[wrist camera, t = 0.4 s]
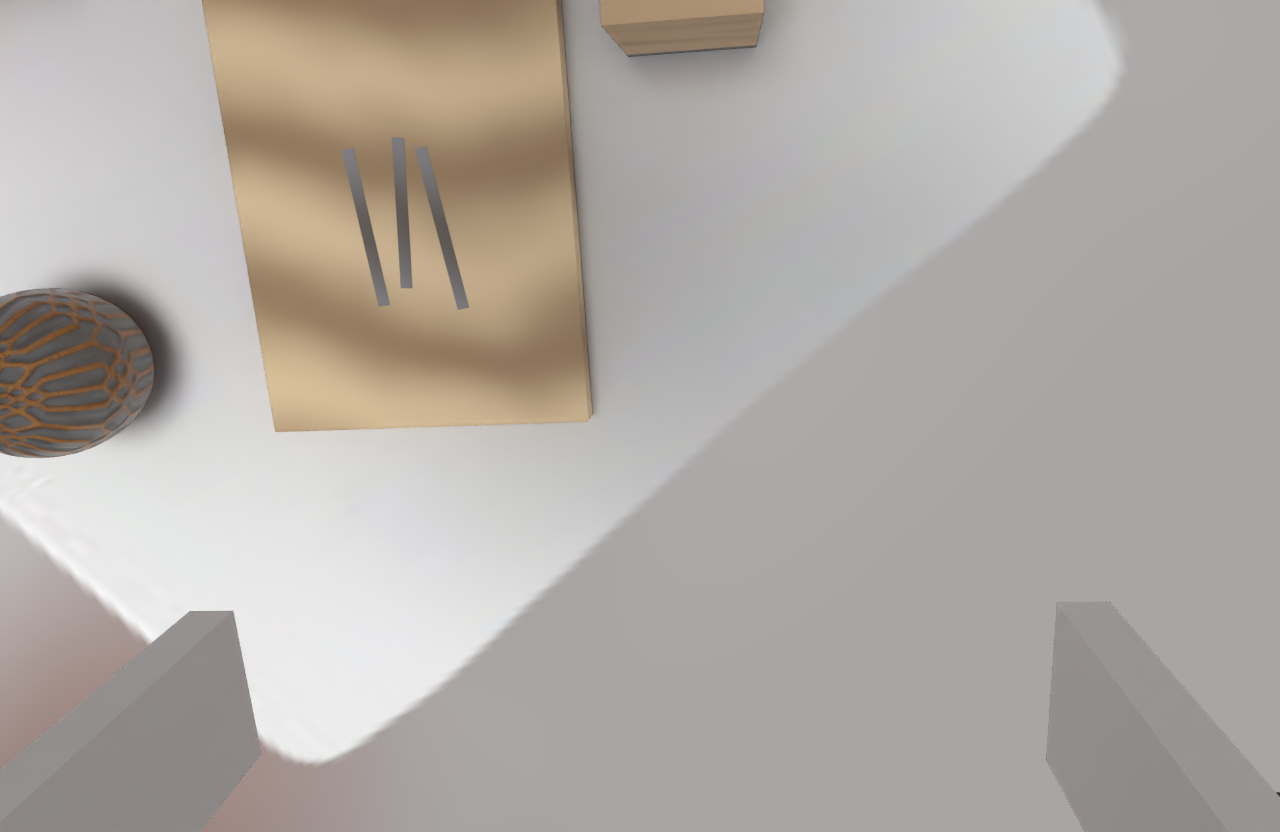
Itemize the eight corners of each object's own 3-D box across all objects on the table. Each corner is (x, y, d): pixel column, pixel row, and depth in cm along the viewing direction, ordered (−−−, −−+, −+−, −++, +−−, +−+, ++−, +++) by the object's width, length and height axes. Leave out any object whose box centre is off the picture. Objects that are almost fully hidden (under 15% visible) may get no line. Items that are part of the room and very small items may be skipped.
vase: (210, 386, 41) (76, 442, 33) (96, 453, 42) (-60, 523, 34) (120, 251, 40) (-44, 272, 31) (6, 325, 41) (-180, 364, 33)
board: (193, -144, 35) (175, -156, 34) (547, -182, 34) (540, -195, 32) (288, 424, 41) (274, 431, 40) (592, 414, 40) (588, 421, 38)
